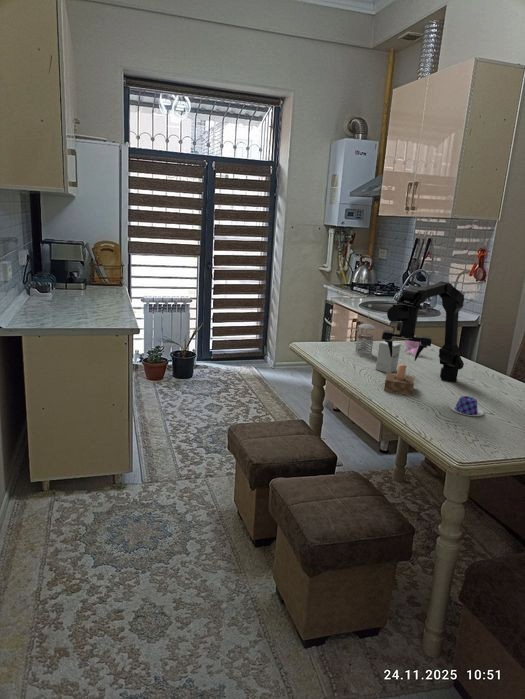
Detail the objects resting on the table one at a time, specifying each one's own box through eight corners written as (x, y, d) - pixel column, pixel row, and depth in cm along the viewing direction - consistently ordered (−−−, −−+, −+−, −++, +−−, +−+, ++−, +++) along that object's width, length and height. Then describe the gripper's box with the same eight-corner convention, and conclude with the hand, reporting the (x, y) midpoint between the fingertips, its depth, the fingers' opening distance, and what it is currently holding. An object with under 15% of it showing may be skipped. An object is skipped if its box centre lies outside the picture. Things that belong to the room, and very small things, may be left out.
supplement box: (390, 373, 237) (394, 346, 233) (374, 369, 241) (378, 342, 238) (397, 370, 242) (401, 343, 239) (381, 366, 247) (386, 339, 243)
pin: (402, 386, 218) (406, 364, 215) (402, 388, 215) (406, 367, 212) (394, 384, 218) (398, 363, 216) (394, 387, 215) (398, 365, 213)
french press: (373, 358, 260) (380, 307, 253) (349, 354, 262) (355, 304, 255) (373, 353, 269) (380, 303, 262) (350, 349, 271) (356, 301, 264)
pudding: (451, 403, 207) (453, 390, 205) (484, 410, 202) (487, 397, 200) (447, 412, 196) (449, 399, 195) (482, 420, 191) (485, 406, 190)
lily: (399, 351, 281) (398, 337, 275) (420, 344, 282) (419, 329, 276) (410, 365, 271) (409, 350, 265) (432, 357, 272) (431, 342, 266)
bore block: (412, 387, 221) (413, 376, 220) (412, 395, 210) (414, 384, 209) (385, 382, 223) (386, 372, 222) (383, 390, 213) (385, 380, 212)
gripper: (433, 320, 215) (426, 357, 219) (386, 313, 219) (380, 350, 223) (434, 325, 204) (427, 364, 208) (384, 318, 209) (378, 357, 213)
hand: (403, 358), depth 213 cm, fingers open, 9 cm apart
